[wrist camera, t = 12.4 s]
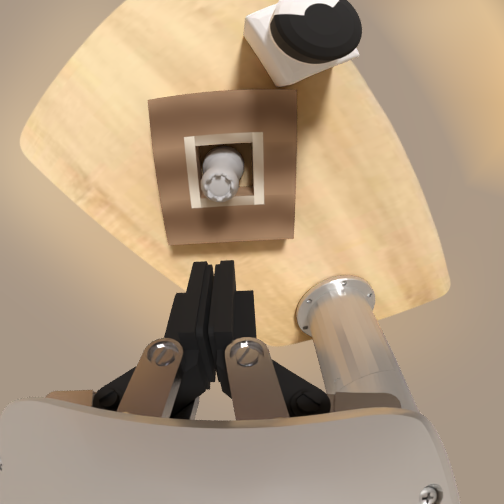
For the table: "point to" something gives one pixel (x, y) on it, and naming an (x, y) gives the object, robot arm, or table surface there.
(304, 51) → the medicine bottle
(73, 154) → the table surface
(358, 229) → the table surface
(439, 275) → the table surface
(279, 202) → the board
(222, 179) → the rook chess piece
